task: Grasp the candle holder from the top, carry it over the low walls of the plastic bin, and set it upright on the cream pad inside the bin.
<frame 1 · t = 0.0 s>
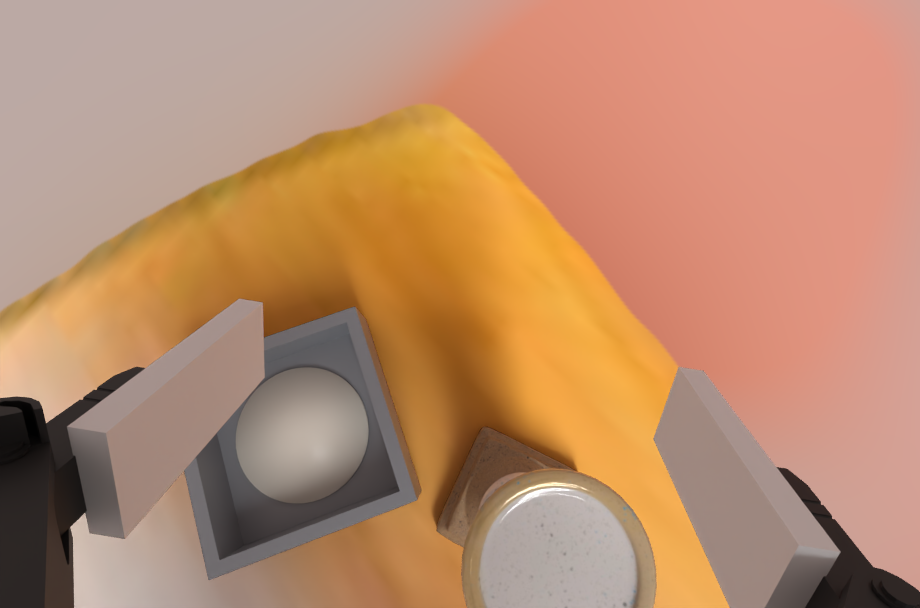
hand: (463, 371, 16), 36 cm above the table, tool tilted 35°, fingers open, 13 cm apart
walled bin: (306, 432, 50), on the table
candle holder: (508, 499, 49), on the table
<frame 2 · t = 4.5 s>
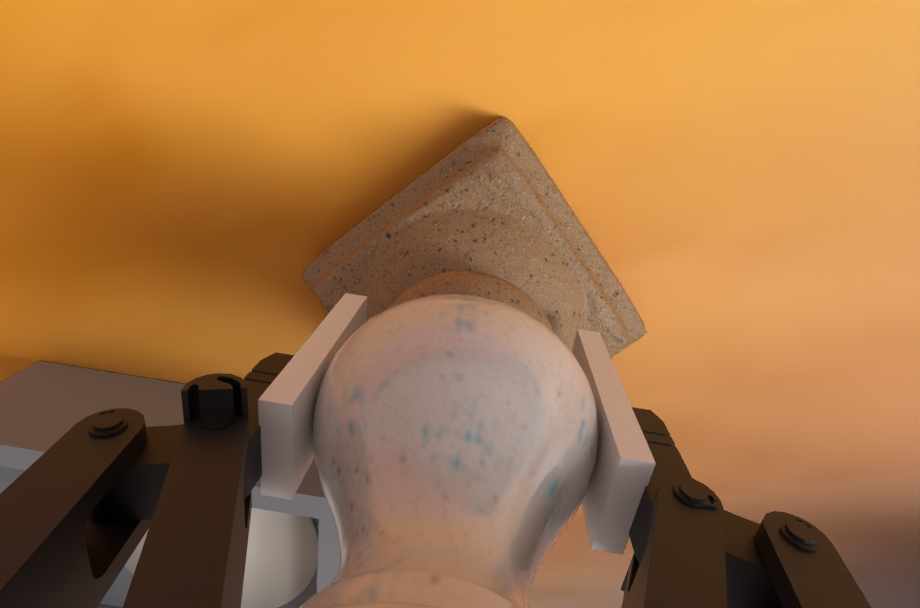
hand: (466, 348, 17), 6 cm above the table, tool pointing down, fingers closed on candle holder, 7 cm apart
walled bin: (219, 518, 29), on the table
candle holder: (475, 287, 23), on the table, touching gripper
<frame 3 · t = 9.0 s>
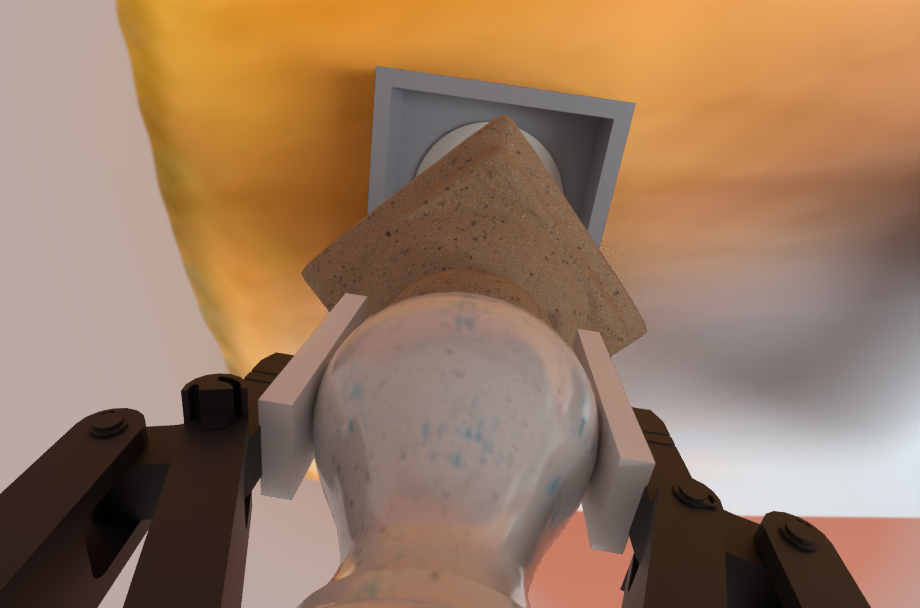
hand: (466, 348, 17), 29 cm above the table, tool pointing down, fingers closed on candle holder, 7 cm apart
walled bin: (487, 199, 44), on the table
candle holder: (475, 286, 23), point 23 cm above the table, touching gripper
when the fingers open (8 cm above the table, at t = 13.5 s): candle holder drops 1 cm, resting on walled bin.
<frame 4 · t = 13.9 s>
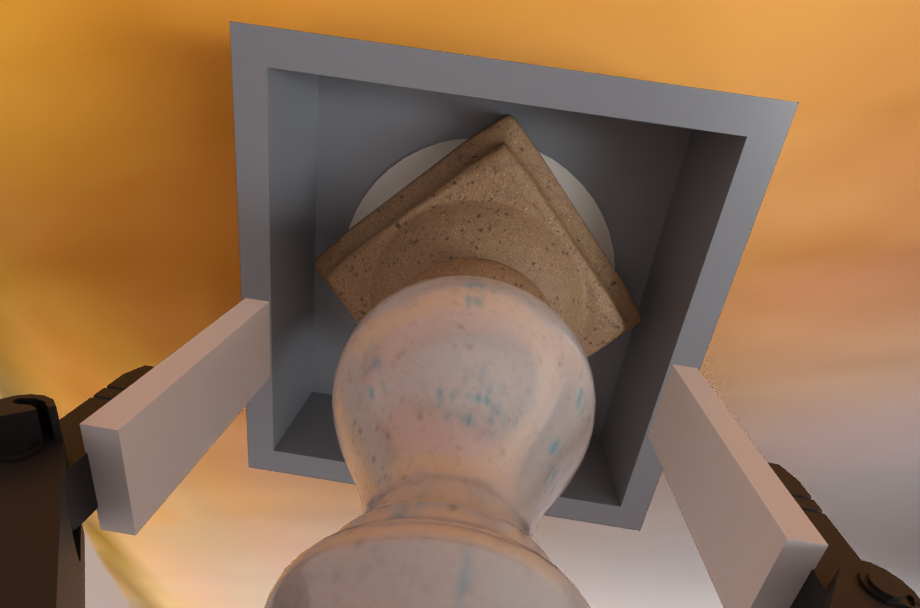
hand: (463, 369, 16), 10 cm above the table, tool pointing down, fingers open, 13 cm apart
walled bin: (477, 271, 25), on the table
candle holder: (478, 277, 24), point 1 cm above the table, touching walled bin
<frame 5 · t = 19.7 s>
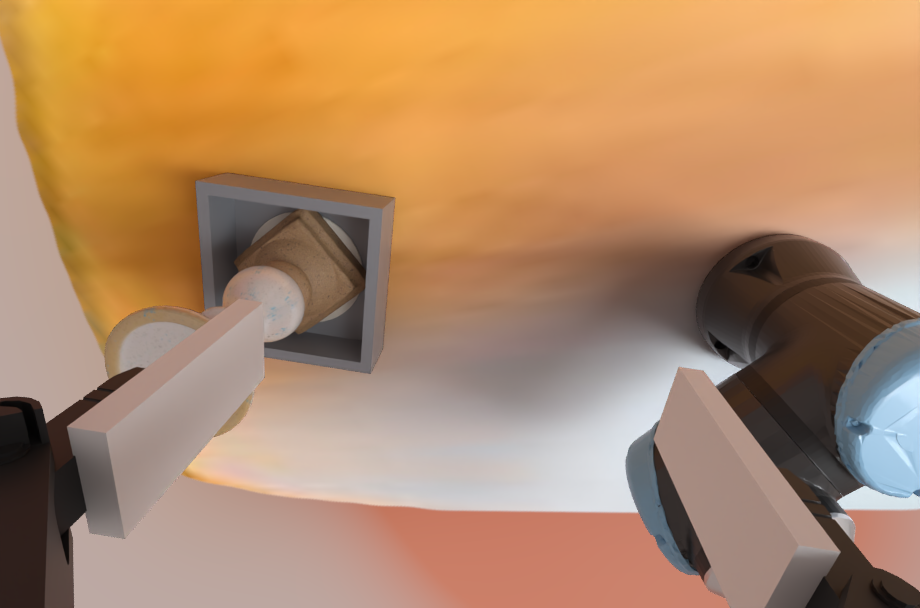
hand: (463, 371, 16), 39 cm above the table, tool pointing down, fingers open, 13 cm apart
walled bin: (309, 265, 56), on the table
candle holder: (307, 268, 55), point 1 cm above the table, touching walled bin
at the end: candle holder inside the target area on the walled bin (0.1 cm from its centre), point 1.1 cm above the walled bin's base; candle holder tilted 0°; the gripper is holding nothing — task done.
